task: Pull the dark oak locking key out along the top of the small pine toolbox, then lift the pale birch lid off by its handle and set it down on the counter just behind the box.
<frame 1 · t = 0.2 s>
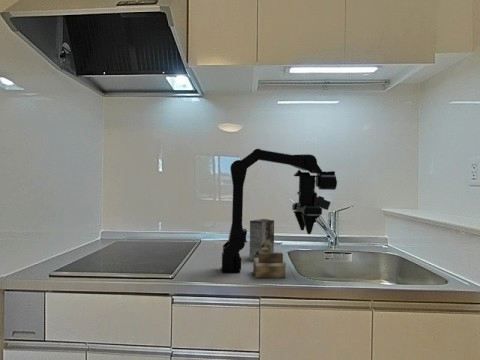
hand: (305, 232, 134), 14 cm above the worktop, tool pointing down, fingers open, 9 cm apart
lid: (269, 263, 128), point 4 cm above the worktop, touching toolbox
key: (270, 257, 125), point 7 cm above the worktop, slide at 0.0 cm
toolbox: (268, 275, 128), on the worktop
coffee box: (261, 259, 153), on the worktop
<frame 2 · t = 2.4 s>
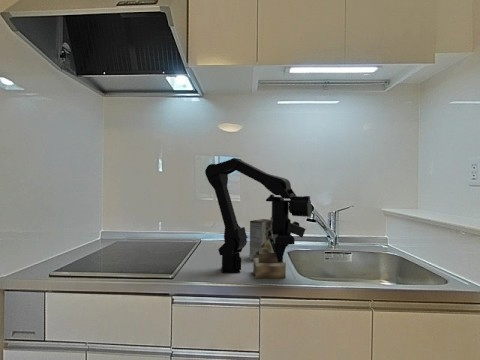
hand: (279, 261, 125), 6 cm above the worktop, tool pointing down, fingers closed on key, 2 cm apart
key: (270, 257, 125), point 7 cm above the worktop, slide at 0.0 cm, touching gripper
everything else where it was.
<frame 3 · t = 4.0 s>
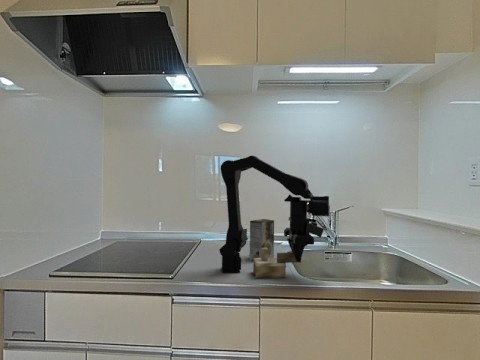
hand: (297, 260, 126), 6 cm above the worktop, tool pointing down, fingers closed on key, 2 cm apart
key: (288, 257, 125), point 7 cm above the worktop, slide at 6.3 cm, touching gripper
everything else where it was.
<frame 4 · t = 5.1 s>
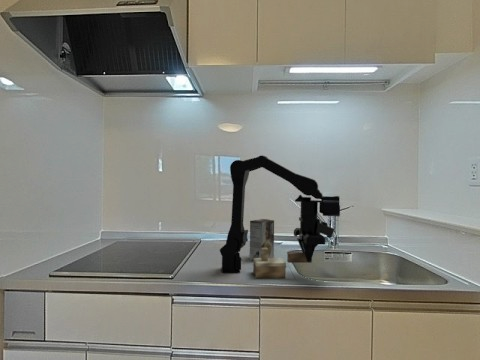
hand: (308, 260, 126), 6 cm above the worktop, tool pointing down, fingers closed
key: (299, 257, 126), point 7 cm above the worktop, slide at 9.9 cm
everything else where it was.
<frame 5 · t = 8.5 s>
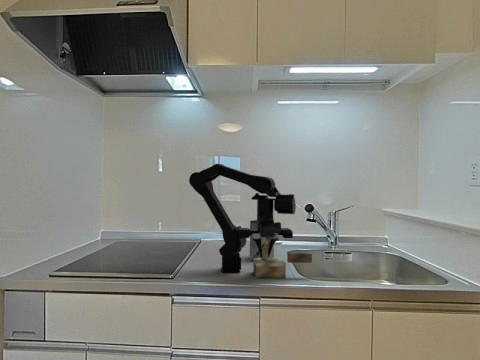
hand: (264, 257, 129), 6 cm above the worktop, tool pointing down, fingers closed on lid, 2 cm apart
lid: (269, 263, 128), point 4 cm above the worktop, touching gripper, toolbox
everything else where it was.
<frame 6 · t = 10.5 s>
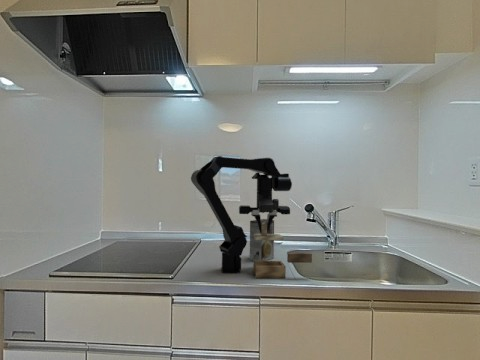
hand: (263, 232, 138), 13 cm above the worktop, tool pointing down, fingers closed on lid
lid: (268, 238, 137), point 11 cm above the worktop, touching gripper
everything else where it was.
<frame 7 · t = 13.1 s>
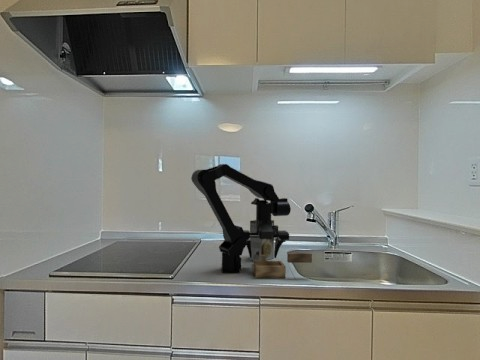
hand: (262, 258, 139), 3 cm above the worktop, tool pointing down, fingers open, 9 cm apart
lid: (266, 269, 138), on the worktop
everything else where it was.
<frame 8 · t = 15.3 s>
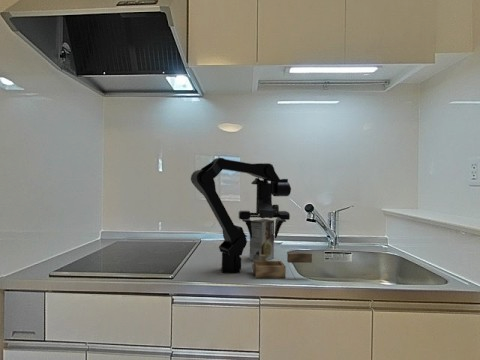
hand: (263, 238, 139), 11 cm above the worktop, tool pointing down, fingers open, 9 cm apart
nothing on the worktop moved.
at the end: key slide at 9.9 cm; lid inside the target area (0.2 cm from its centre), on the worktop; lid tilted 0° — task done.
